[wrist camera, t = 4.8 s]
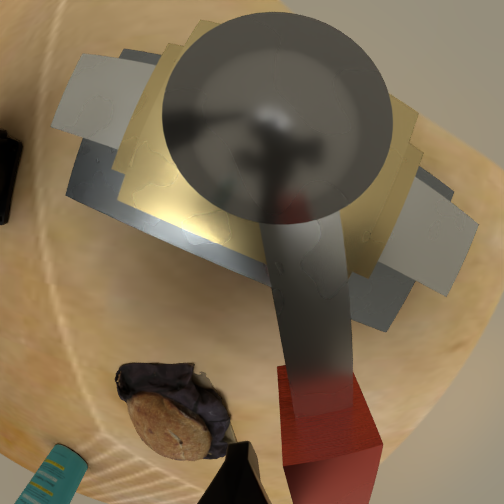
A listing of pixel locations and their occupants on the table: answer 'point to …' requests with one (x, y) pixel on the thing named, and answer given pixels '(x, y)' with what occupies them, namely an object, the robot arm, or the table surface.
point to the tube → (55, 478)
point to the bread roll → (175, 410)
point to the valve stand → (241, 230)
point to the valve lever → (293, 212)
